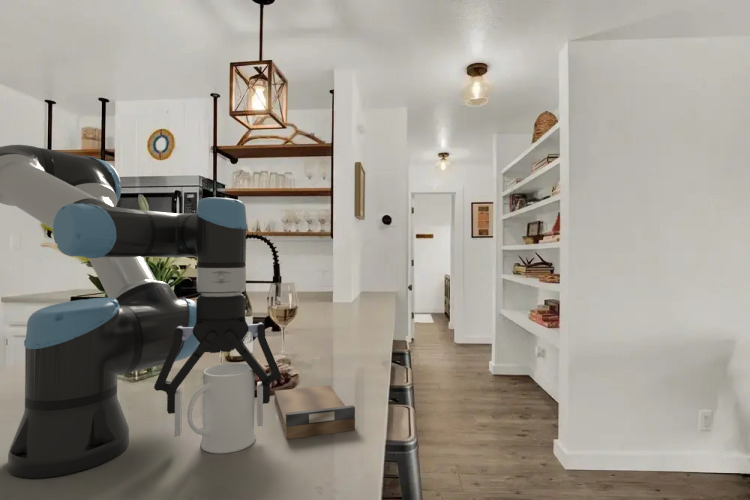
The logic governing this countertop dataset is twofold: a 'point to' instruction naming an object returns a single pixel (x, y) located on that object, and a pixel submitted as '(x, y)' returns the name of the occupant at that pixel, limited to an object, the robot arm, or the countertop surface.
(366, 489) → the countertop surface
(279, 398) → the flat wooden box
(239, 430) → the mug
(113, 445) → the robot arm
